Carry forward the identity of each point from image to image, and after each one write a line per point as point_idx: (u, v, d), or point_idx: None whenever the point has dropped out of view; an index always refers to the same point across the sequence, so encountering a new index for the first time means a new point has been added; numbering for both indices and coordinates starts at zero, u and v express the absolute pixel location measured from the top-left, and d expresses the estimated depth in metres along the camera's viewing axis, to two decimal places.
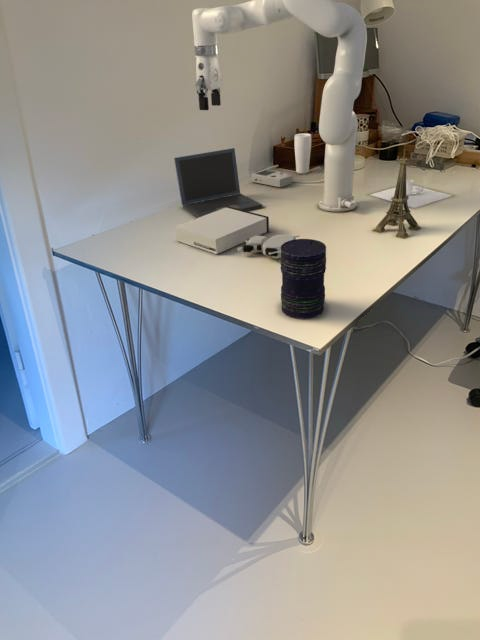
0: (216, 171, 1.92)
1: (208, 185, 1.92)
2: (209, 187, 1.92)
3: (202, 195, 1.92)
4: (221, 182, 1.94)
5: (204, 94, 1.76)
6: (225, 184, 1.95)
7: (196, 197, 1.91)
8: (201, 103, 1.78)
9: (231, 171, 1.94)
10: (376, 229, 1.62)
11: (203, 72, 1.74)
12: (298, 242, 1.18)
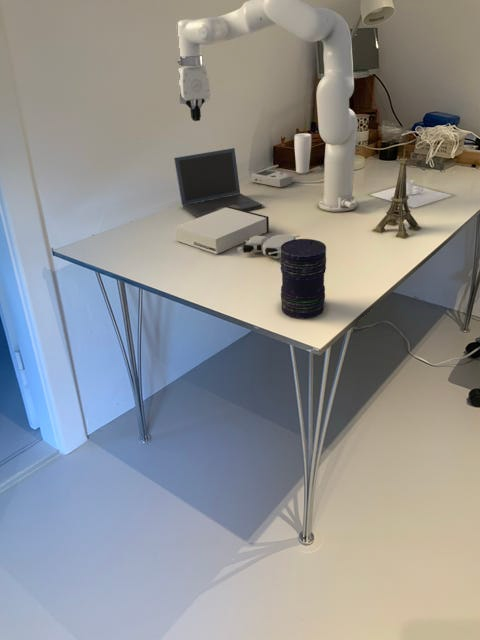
0: (216, 171, 1.92)
1: (208, 185, 1.92)
2: (209, 187, 1.92)
3: (202, 195, 1.92)
4: (221, 182, 1.94)
5: (191, 107, 1.84)
6: (225, 184, 1.95)
7: (196, 197, 1.91)
8: (191, 114, 1.86)
9: (231, 171, 1.94)
10: (376, 229, 1.62)
11: (180, 82, 1.79)
12: (298, 242, 1.18)
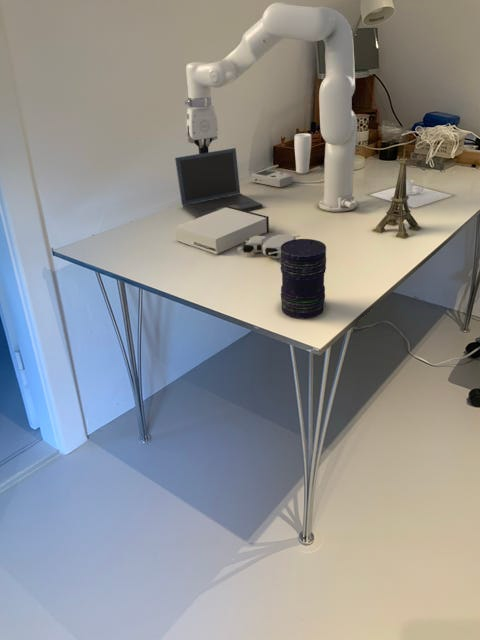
0: (217, 171, 1.91)
1: (208, 185, 1.92)
2: (209, 187, 1.92)
3: (202, 195, 1.92)
4: (221, 182, 1.94)
5: (199, 146, 1.87)
6: (225, 184, 1.94)
7: (196, 197, 1.91)
8: (199, 152, 1.89)
9: (231, 171, 1.94)
10: (376, 229, 1.62)
11: (188, 123, 1.82)
12: (298, 242, 1.18)
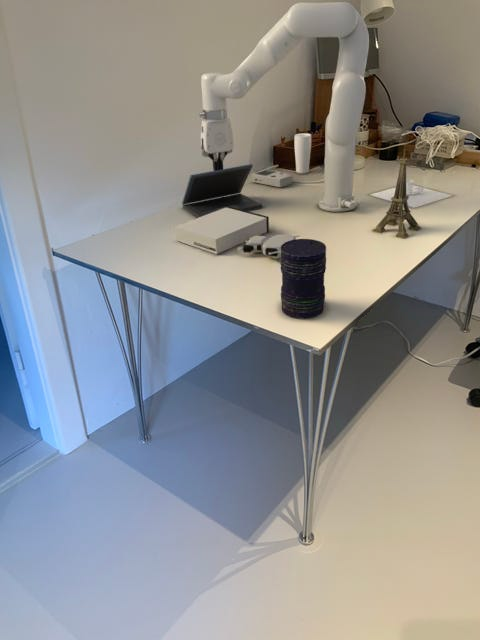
0: (226, 182, 1.87)
1: (213, 191, 1.89)
2: (213, 192, 1.90)
3: (204, 197, 1.91)
4: (226, 188, 1.91)
5: (214, 160, 1.79)
6: (229, 189, 1.92)
7: (197, 199, 1.90)
8: (213, 166, 1.81)
9: (240, 180, 1.90)
10: (376, 229, 1.62)
11: (203, 136, 1.74)
12: (298, 242, 1.18)
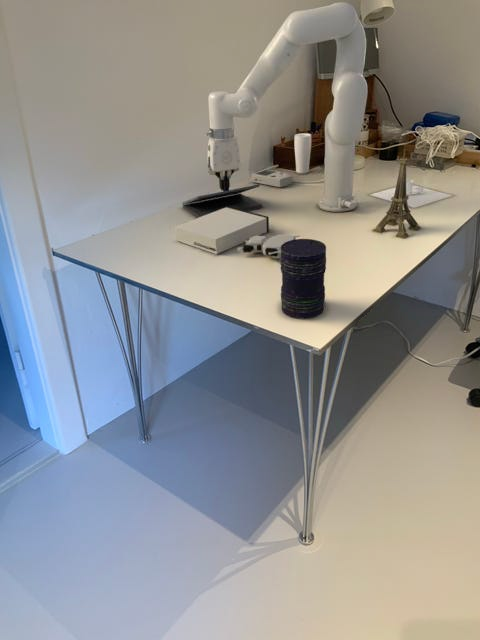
0: (230, 193, 1.87)
1: (215, 197, 1.89)
2: (215, 197, 1.90)
3: None
4: (229, 194, 1.91)
5: (220, 178, 1.78)
6: (231, 194, 1.92)
7: (198, 201, 1.90)
8: (220, 184, 1.80)
9: (243, 191, 1.90)
10: (376, 229, 1.62)
11: (210, 154, 1.73)
12: (298, 242, 1.18)
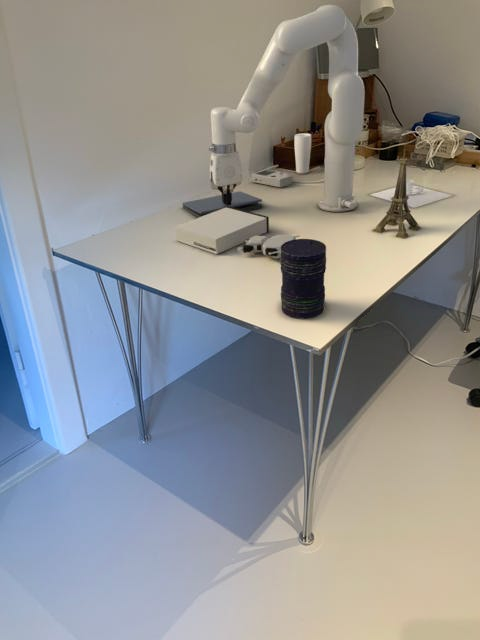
0: None
1: None
2: None
3: None
4: None
5: (223, 192, 1.79)
6: None
7: None
8: (222, 198, 1.81)
9: None
10: (376, 229, 1.62)
11: (212, 169, 1.74)
12: (298, 242, 1.18)
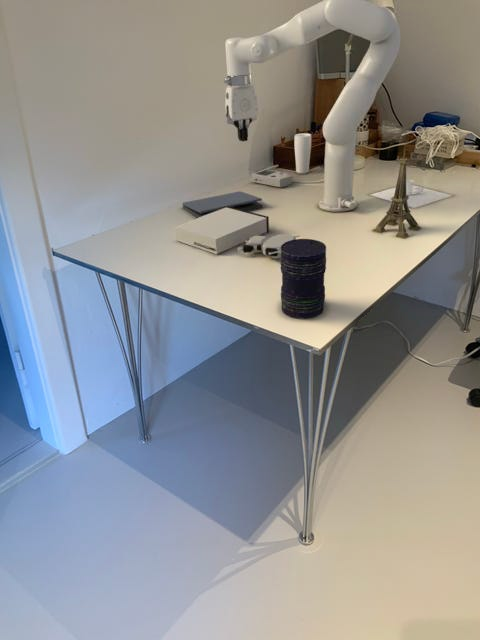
0: None
1: None
2: None
3: None
4: None
5: (239, 127, 1.77)
6: None
7: None
8: (238, 134, 1.80)
9: None
10: (376, 229, 1.62)
11: (228, 102, 1.72)
12: (298, 242, 1.18)
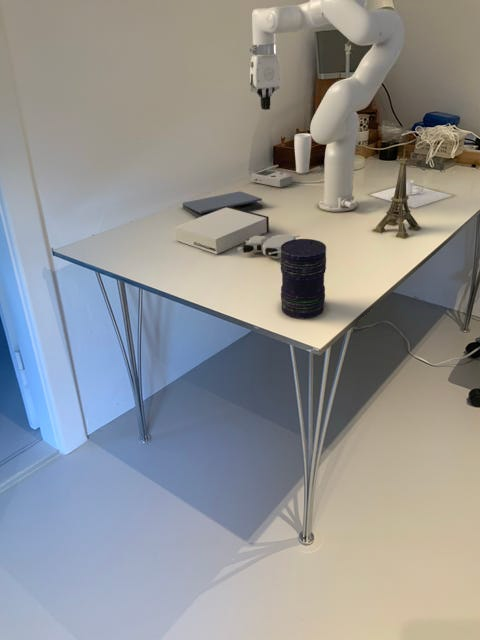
0: None
1: None
2: None
3: None
4: None
5: (262, 96, 1.85)
6: None
7: None
8: (261, 102, 1.87)
9: None
10: (376, 229, 1.62)
11: (253, 71, 1.80)
12: (298, 242, 1.18)
